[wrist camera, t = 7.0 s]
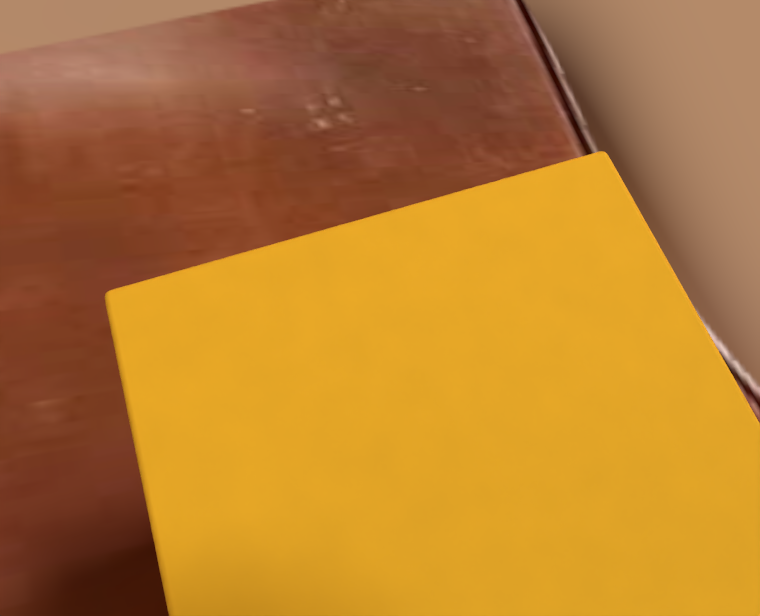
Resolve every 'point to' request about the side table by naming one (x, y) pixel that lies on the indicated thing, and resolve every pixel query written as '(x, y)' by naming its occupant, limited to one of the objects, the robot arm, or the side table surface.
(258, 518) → the sponge
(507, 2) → the side table surface
